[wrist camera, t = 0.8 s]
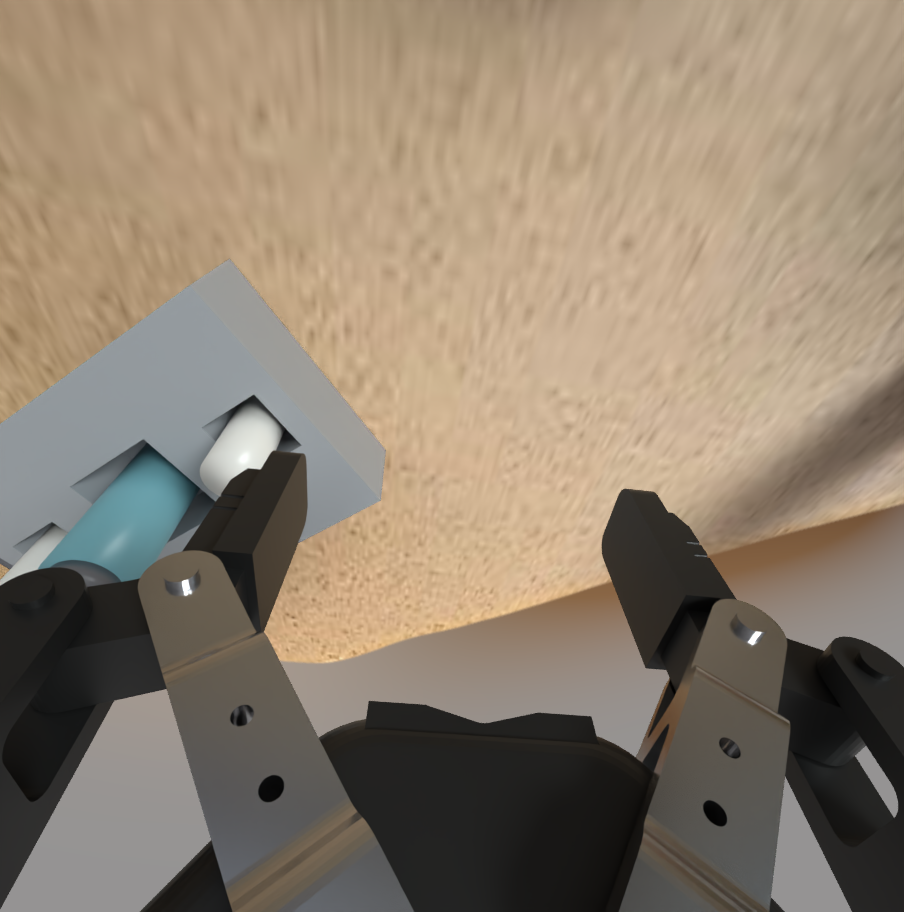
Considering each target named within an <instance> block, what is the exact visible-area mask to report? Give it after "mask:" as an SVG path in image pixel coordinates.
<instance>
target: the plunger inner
mask: <svg viewBox="0 0 904 912" xmlns="http://www.w3.org/2000/svg"><path fill="white" fill-rule="evenodd" d="M285 429H286V428H285V427H284V426H283V425H282V424H281V423H280V422H279V421H278V419H277V418H276V417H275V416H274V415H273V414H272V413H271V412H270V411H269V410H268V409H267V408H266V407H265V406H264V404H263V403H262V402H261V401H260V400H259V399H258V398H257V397H256V396H255V395H252V396H251V397H249V398H247V399H246V400H244V401H243V402H242V403H241V404H240V406H239V407H238V409H237V410H236V412H235V413H234V415H233V417H232V418H231V420H230V421H229V423H228V424H227V426H226V427H225V429H224V430H223V432H222V433H221V435H220V436H219V438H218V439H217V441H216V442H215V444H214V446H213V447H212V449H211V450H210V452H209V453H208V455H207V456H206V458H205V459H204V461H203V462H202V464H201V466H200V477H201V479H202V482H203V483H204V485H205V486H206V487H207V488H208V489H209V490H210V491H212V492H213V493H215V494H216V495H218V496H221V493H222V492H223V490H224V489H225V487H226V486H227V484H228V483H229V481H230V480H231V479H232V478H234V477H235V476H237V475H238V474H240V473H241V472H243V471H244V470H246V469H247V468H252V469H261V468H262V466H263V465H264V463H265V461H266V460H267V458H268V456H269V455H270V453H271V452H272V451H273V450H275V451H276V449H277V447H278V444H279V442H280V440H281V438H282V436H283V433H284V431H285Z"/></svg>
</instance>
